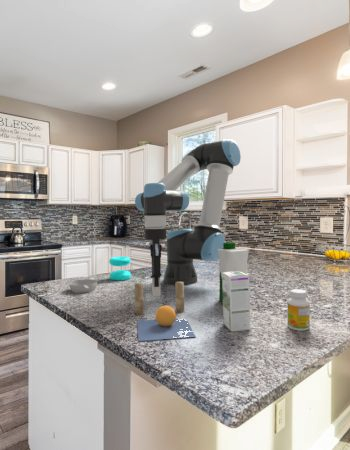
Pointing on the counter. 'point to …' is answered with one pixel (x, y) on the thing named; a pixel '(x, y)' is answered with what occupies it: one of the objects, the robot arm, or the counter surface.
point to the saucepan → (83, 285)
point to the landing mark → (161, 330)
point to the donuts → (120, 273)
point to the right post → (179, 296)
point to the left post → (139, 299)
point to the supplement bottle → (298, 310)
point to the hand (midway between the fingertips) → (156, 295)
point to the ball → (165, 316)
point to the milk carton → (231, 261)
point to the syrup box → (236, 300)
